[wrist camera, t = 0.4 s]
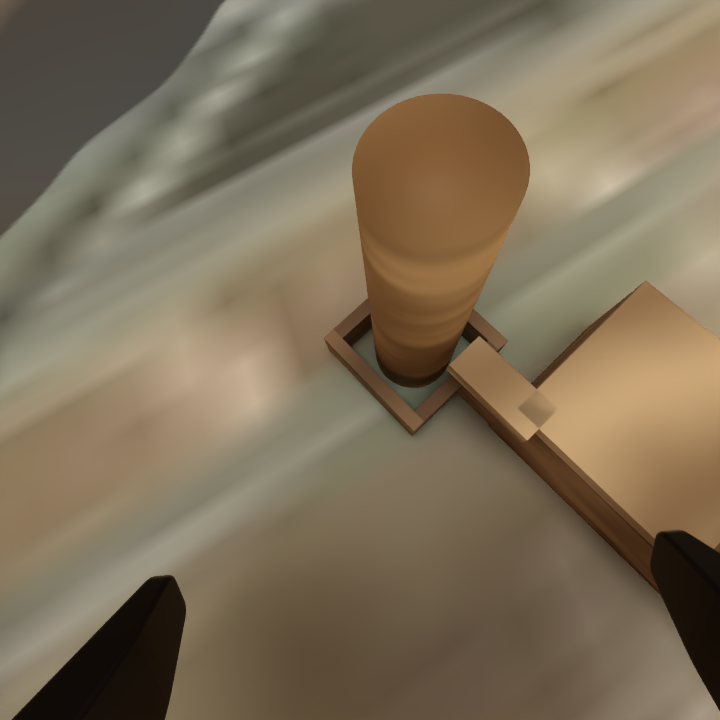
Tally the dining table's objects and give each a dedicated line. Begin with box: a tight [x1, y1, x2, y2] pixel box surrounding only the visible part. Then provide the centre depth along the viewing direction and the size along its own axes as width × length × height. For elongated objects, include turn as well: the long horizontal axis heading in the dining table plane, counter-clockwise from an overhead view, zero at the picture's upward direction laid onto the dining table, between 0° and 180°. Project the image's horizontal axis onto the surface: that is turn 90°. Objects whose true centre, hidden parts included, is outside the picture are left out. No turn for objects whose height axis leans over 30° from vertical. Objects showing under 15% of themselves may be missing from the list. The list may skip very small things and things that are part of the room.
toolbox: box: [324, 292, 660, 593], centre depth 20 cm, size 22×10×4 cm, turn 43°
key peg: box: [352, 94, 530, 388], centre depth 16 cm, size 4×4×14 cm
